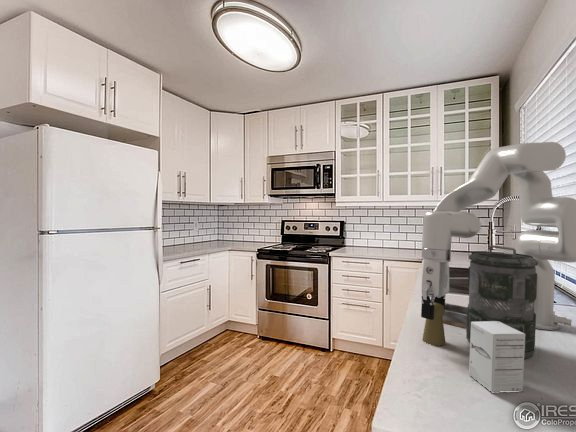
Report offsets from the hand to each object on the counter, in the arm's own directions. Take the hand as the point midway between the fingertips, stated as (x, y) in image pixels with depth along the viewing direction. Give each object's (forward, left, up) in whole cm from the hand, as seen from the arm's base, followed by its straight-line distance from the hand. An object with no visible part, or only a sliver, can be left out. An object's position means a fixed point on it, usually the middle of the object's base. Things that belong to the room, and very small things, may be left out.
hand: (433, 314), depth 91 cm
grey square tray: (0, -23, -8) cm, 25 cm away
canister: (-15, -10, -8) cm, 19 cm away
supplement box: (-17, +14, -8) cm, 23 cm away
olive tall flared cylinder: (0, 0, -8) cm, 8 cm away
